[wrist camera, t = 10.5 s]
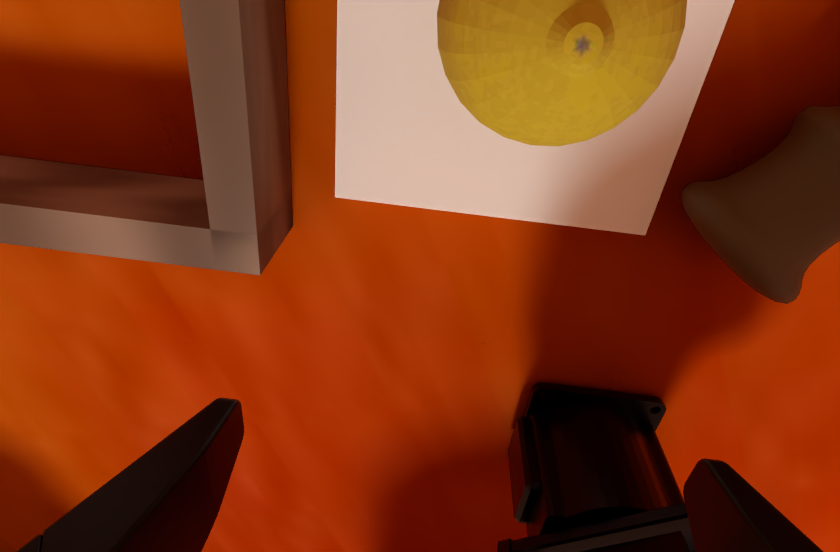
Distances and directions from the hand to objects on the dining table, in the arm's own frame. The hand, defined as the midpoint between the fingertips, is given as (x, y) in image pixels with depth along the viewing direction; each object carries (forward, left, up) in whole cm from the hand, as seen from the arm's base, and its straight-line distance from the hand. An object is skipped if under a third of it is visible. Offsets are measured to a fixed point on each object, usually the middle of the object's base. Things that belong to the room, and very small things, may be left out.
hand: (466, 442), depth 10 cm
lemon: (-1, -7, -11) cm, 13 cm away
